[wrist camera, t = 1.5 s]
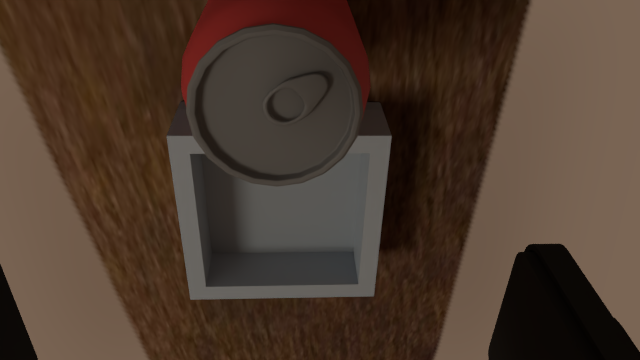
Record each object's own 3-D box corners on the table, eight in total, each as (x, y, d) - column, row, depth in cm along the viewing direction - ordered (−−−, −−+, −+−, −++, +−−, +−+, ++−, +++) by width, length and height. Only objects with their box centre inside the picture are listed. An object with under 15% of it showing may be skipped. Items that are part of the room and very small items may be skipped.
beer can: (369, 25, 27) (417, 135, 17) (267, 94, 29) (257, 230, 19) (294, -92, 24) (299, -42, 14) (186, -7, 26) (121, 91, 16)
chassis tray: (180, 101, 29) (166, 135, 26) (379, 102, 30) (391, 135, 26) (199, 255, 35) (190, 299, 32) (365, 253, 36) (373, 296, 32)
